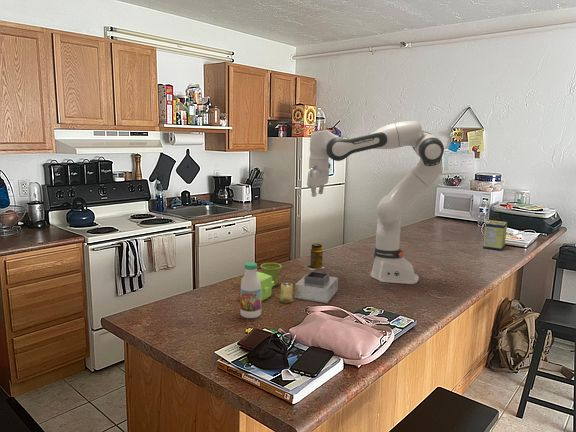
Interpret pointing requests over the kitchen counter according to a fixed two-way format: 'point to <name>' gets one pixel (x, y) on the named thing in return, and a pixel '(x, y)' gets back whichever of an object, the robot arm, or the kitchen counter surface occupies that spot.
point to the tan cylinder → (286, 292)
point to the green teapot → (265, 285)
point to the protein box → (495, 235)
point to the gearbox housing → (316, 287)
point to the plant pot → (272, 271)
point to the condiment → (316, 257)
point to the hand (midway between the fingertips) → (317, 195)
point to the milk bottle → (250, 292)
